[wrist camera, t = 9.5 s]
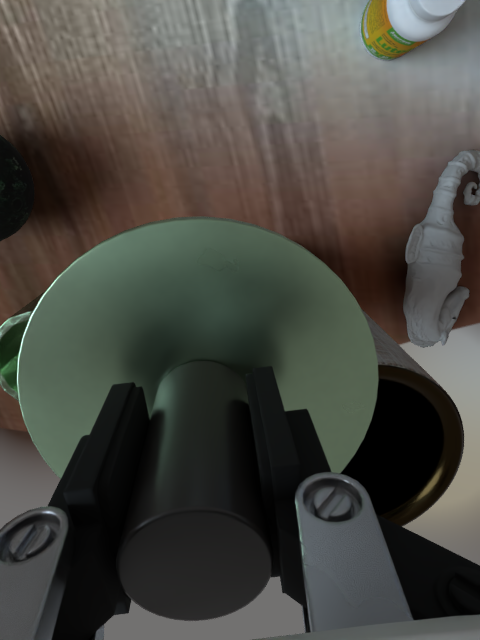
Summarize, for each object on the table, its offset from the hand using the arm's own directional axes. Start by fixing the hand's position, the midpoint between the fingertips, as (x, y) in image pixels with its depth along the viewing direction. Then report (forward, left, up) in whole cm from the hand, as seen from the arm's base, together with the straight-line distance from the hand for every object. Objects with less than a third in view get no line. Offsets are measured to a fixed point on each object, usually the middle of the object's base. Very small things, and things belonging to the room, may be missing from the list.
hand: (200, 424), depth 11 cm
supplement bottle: (+7, +23, -33) cm, 41 cm away
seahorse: (+21, +19, -32) cm, 43 cm away
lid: (0, 0, -2) cm, 2 cm away
